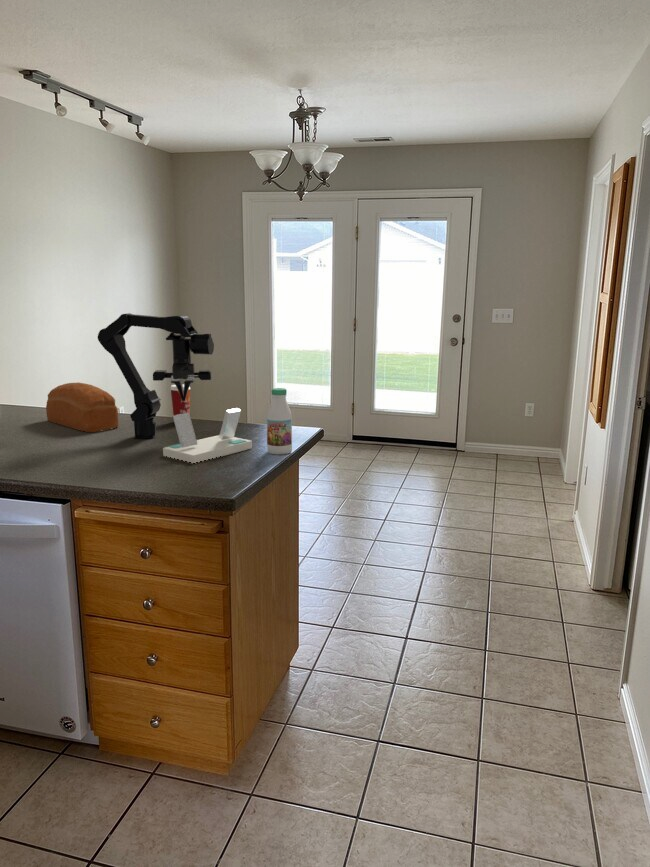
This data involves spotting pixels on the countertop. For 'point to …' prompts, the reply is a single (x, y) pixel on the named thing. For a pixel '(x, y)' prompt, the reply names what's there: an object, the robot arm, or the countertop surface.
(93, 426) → the bread
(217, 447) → the switch panel
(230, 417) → the right lever
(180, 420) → the left lever
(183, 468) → the countertop surface
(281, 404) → the milk bottle
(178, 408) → the paper cup
